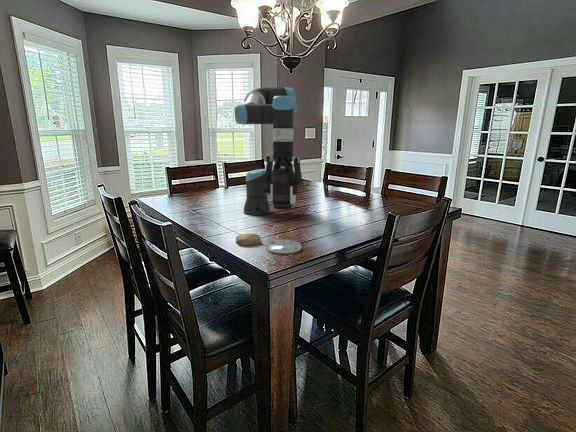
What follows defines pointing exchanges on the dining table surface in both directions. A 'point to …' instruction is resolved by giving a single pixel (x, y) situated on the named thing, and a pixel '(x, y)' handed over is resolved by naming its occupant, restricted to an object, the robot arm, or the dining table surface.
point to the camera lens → (281, 188)
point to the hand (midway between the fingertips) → (283, 201)
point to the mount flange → (283, 247)
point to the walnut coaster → (248, 239)
